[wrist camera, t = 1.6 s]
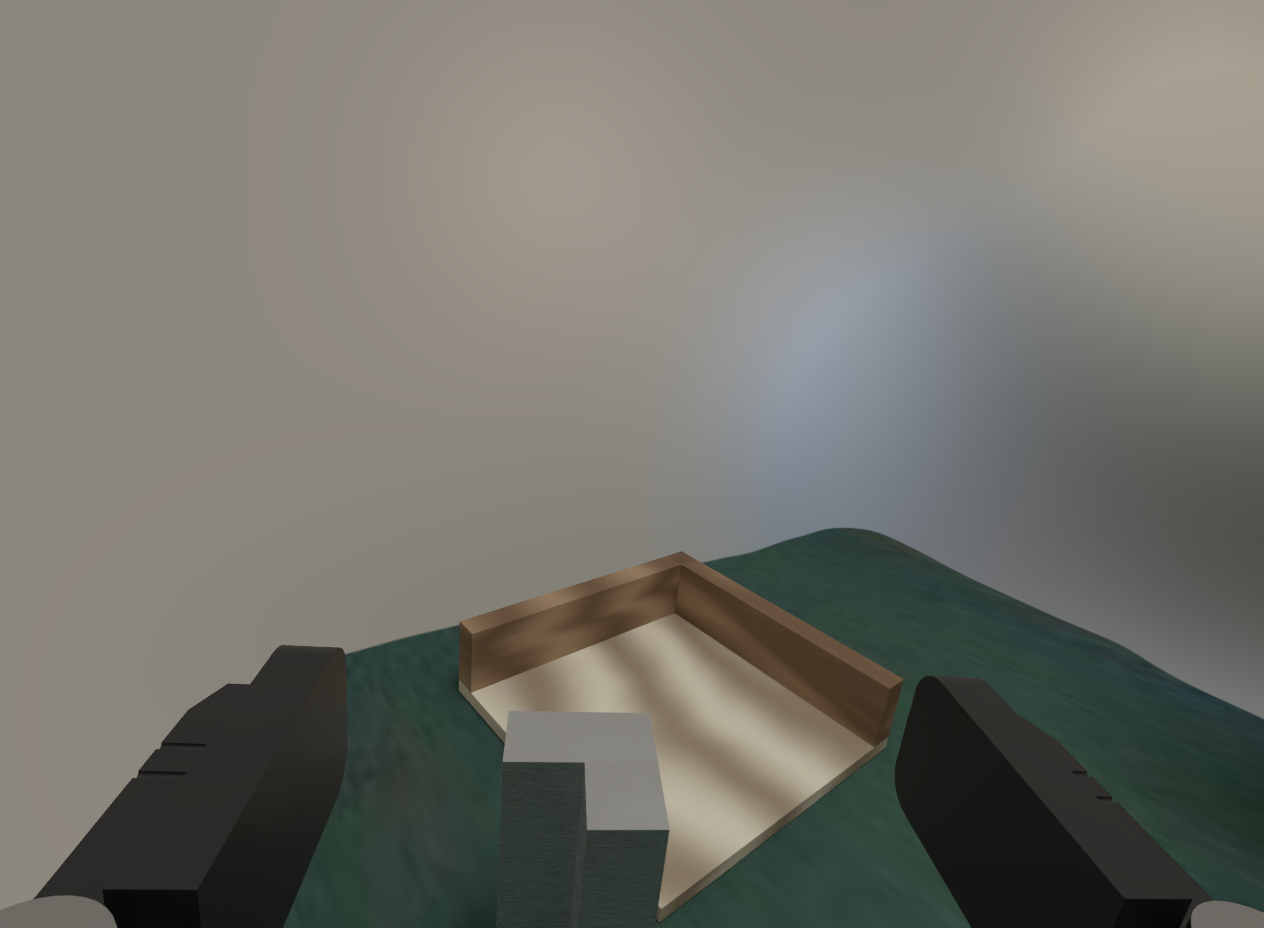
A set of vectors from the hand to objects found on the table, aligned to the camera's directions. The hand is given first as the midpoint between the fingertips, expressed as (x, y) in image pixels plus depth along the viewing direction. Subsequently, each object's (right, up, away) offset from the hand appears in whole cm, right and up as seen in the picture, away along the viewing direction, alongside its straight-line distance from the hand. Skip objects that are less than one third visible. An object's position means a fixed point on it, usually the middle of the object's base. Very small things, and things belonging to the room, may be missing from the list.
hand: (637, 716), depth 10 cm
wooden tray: (+2, -12, +31) cm, 33 cm away
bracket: (-3, -16, +16) cm, 23 cm away
